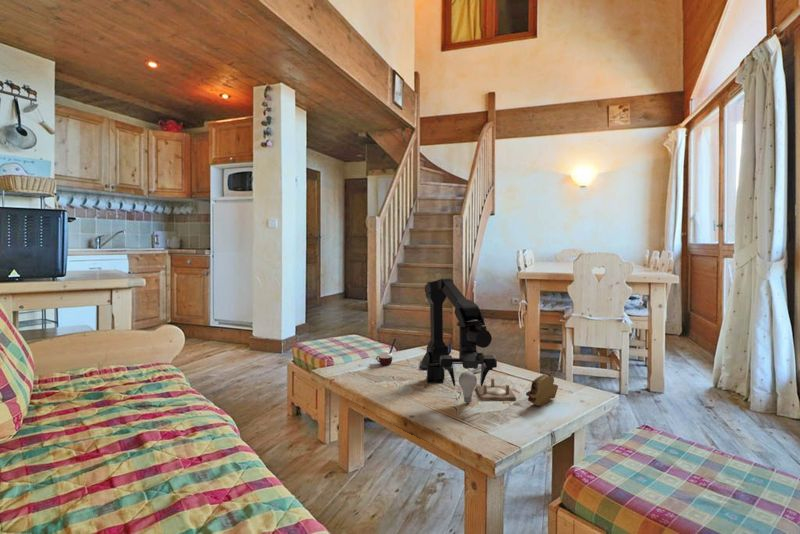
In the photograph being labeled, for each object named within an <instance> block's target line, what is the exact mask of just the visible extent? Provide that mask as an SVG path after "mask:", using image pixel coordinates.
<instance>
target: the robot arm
mask: <svg viewBox="0 0 800 534" xmlns="http://www.w3.org/2000/svg"><path fill="white" fill-rule="evenodd" d="M424 292H425V298H426V300H427V302H428V303H429V306H430V307H429V308H430V309H429V310H430V311H429V312H430V319H429V320H430V322H429V323H430V340H429V342H428V344H427V346H426V352H425V354H424V356H423V358H422V359H421V361H422V360H423V365H424V366H426V367H427V370H426V383H440V384H441V383H444V382H445V381H444V380H445V377H446V376H445V374H446V373H445V370H446V371H448V373H449V375H450V379H451V382H452V385H453V387H456V379H455V373H454V371H455V370H454V366H453V365H462V368H463V369H477V368H478V365H480V364H482V365H481V369H480V382H479V383H480V384H479V386H483V385H484V382H485V380H486V377H487V375H488V374H489V371H492V370H493V369H494V368H495V369H496V368H497V367H498V361H497V358H496V359H495V357H496V356H495V355H494V356H495V357H494V356H493V355H492V354H488V355H487V354H486V355H485V354H484V352H477V347H479V348H483V349H484V348H488V347H489V346H490V344H491V343H492V334H491V333H490V331H489V330H487V326H486V324H485V319H484V318H485V317H483V315H482V313H481V309H480V308H479V305H478V304H477V303H475V301H473V300H471V299H468V298H466V297H465V295H464V294H463V293H462V292H461V291H460V289H459V288H458V287H457V285H456V284H455V283H454V280H453V279H452V278H451V277H447V278H440V279H437V280H434V281H427V283H426V284H425V285H424ZM446 299H448V300H449V301H450V303H451V304H452V305H453V307H454V315H455V317H456V319H457V321H458V322H457V323H456V326H458V327H459V334H458V335H459V337H458V339H459V340H458V341H459V343H458V344H459V345H458V346H459V347H458V348H459V351H458V352H459V353H458V354H459V357H456V358H454V357H453V356H452V355H451V354H449V355H448V345H446V343H445V342H444V318H443V316H444V314H443V310H444V308H443V304H444V303H445V301H446Z"/></svg>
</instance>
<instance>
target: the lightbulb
mask: <svg viewBox="0 0 800 534" xmlns="http://www.w3.org/2000/svg"><path fill="white" fill-rule="evenodd" d="M469 371H470V370H467V371H463V372H461V374H460V375H459V377H458V384H459V387H460V388H461V389H462V396H463V401H464V403H466V404H467V405H468V404H471V403H472V400H473V399H472V397H473V395H474V394H473V392H474V389H476V386H477V383H478V379H477V376H476V375H475V373H474V374H473V373H472V372H469Z"/></svg>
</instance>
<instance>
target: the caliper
mask: <svg viewBox="0 0 800 534" xmlns="http://www.w3.org/2000/svg"><path fill="white" fill-rule="evenodd" d="M491 355H493V356H494V357H495V359H496V360H497V358H496V357H497V356H496V355H495V354H494V353H492V354H491ZM481 365H482V364H478V368H477V369H474V368H471V369H470V370H468V371H469V372H472V373H473V374H474V375H475V373H477V372H478V371H481Z"/></svg>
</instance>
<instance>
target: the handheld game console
mask: <svg viewBox="0 0 800 534" xmlns="http://www.w3.org/2000/svg"><path fill="white" fill-rule="evenodd" d="M447 346H448V355H451V352H452V342H448V345H447ZM419 368H420V370H421V369H422V371H425V370H426V371H427V367H426V366H424V365H423V360H422V359H421V364H420V367H419Z"/></svg>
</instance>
